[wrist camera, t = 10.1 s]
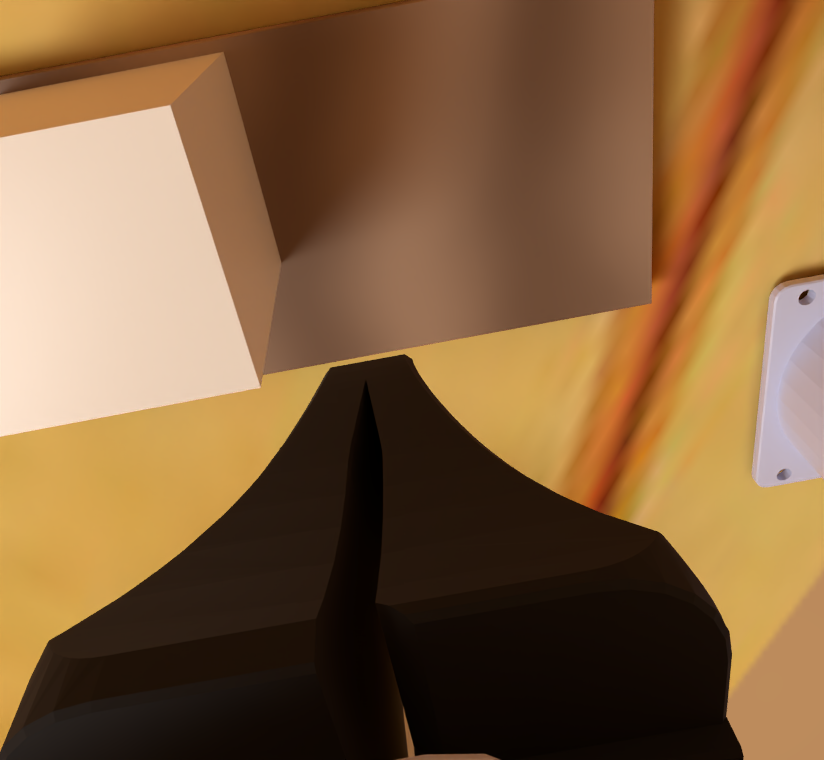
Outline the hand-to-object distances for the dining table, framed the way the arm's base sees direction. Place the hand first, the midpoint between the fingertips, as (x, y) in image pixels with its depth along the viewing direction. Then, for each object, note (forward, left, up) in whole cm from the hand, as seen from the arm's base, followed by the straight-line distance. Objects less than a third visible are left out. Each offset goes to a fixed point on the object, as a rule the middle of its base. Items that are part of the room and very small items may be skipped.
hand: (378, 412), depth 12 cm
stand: (+1, -1, -10) cm, 10 cm away
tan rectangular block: (+5, -2, -9) cm, 11 cm away
